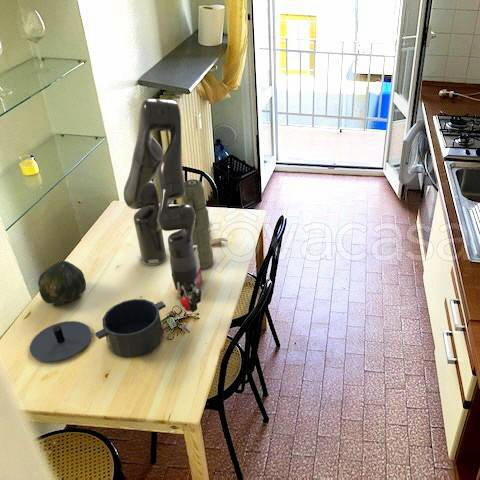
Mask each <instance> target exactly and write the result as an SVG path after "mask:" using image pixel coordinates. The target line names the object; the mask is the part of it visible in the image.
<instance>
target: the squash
mask: <svg viewBox="0 0 480 480" xmlns="http://www.w3.org/2000/svg"><path fill="white" fill-rule="evenodd" d="M86 281H87V280H86V277H85V275H84V273H83V271H82V269H80V268H79V266H78V267H77V266H76V265H75V264H73V263H71V262H70V261H67V260H61V261H57V262H55V263H53V264H52V265H50V266H49V267H48V268H46V269H45V270H44V271H43V272H42V273H41V274H40V275H39V277H38V280H37V285H38V292H39V295H40V298H41V299H42V301H43V302H44V303H46V304H54V305H57V306H60V305H63V304H64V303H65V302H67V303H70V302H73V301H74V300H75V299H77V298H79V297H80V296H81V295H82V294H84V293H85V291H86V290H87V282H86Z"/></svg>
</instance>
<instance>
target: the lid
mask: <svg viewBox="0 0 480 480" xmlns="http://www.w3.org/2000/svg"><path fill="white" fill-rule="evenodd" d="M91 339H92V331H91V328H90V327H89V326H88V325H87V324H85V323H84V322H80V321H76V320H75V321H74V320H68V321H62V322H58V323H54V324H52V325H50V326H48V327H46V328H44V329H42V330H41V331H39V332H38V333H37V334H36V335H35V336H33V339H32V340H31V342H30V345H29V352H30V355H31V357H32V358H33V359H35V360H37V361H39V362H42V363H57V362H59V363H60V362H63V361H66V360H69V359H71V358H73V357H75V356H77V355H78V354H79V353H81V352H83V351H84V350H85V349H86V348H87V347H88V345H89V344H90V342H91Z"/></svg>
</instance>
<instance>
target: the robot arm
mask: <svg viewBox="0 0 480 480" xmlns="http://www.w3.org/2000/svg"><path fill="white" fill-rule="evenodd" d="M152 132H169V142H168V146H167V148H166V150H165V151H163V148H162V146H161V144H160V143H159V142H158V141H157V139H156V138H155V137H154V136H153V134H152ZM182 140H183V139H182V115H181V109H180V105H179V104H178V102H177V101H176V100H173V99H165V98H163V99H161V98H145V99H144V100H143V101H142V102H141V105H140V110H139V118H138V129H137V136H136V140H135V146H134V150H133V154H132V159H131V167H130V170H129V174H128V176H127V180H126V182H125V185H124V188H123V200H124V203H125V204H126V206H127V207H128V208H129V209H130V210H137V211H136V212H135V213H134V215H133V224H134V229H135V233H136V238H137V242H138V247H139V252H140V257H141V258H140V259H141V263H142V264H143V265H146V266H157V265H161V264H163V263H164V262H165V261H166V260H167V259H168V256H167V252H166V245H165V239H164V234H163V231H164V232H172V231H174V232H172V233H170V234H169V235H168V237H167V246H168V252H169V263H170V270H171V278H172V281H173V285H174V288H175V290H176V291H177V290H178V292H177V294H178V293H179V294H180V297H181V298H182V296H183V295H184V293H185V296H186V297H187V298H188V300H189V305H190V311H189V312H191V313H193V312H196V311H197V310H198V304H199V303H201V301H202V290H201V289H200V288H198V289H196V288H195V282H194V280H195V278H196V276H197V267H196V259H195V254H194V250H193V242H192V234H193V228H194V224H195V219H196V214H195V210H194V209H193V207H192V206H190V205H188V204H184V203H183V204H175V205H170V204H171V203H172V202H173V201H176V200H178V199H181V198H183V196H184V195H185V184H184V182H185V178H184V172H183V162H182V159H183V158H182V154H183V153H182V152H183V150H182V148H183V145H182V143H183V141H182ZM156 176H157V177H158V185H159V186H158V187H159V191H158V188H157V185H156V184H155V183H154V181H153V179H154V178H155V177H156ZM159 194H160V196H159ZM177 284H178V286H177ZM192 291H193V292H192ZM190 292H192V293H190ZM188 293H190V294H188ZM191 297H192V299H191ZM181 298H180V299H181Z"/></svg>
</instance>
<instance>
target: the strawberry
mask: <svg viewBox="0 0 480 480" xmlns="http://www.w3.org/2000/svg"><path fill="white" fill-rule="evenodd" d="M190 293H191V292H190ZM190 293H188V294H190ZM191 299H192V297H191ZM180 305H181V307H183V308H184V311H186V312H191V311H190V305H189V300H188V298H187V297H186V296H185V293H184V295H183V296H182V298H180Z"/></svg>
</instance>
